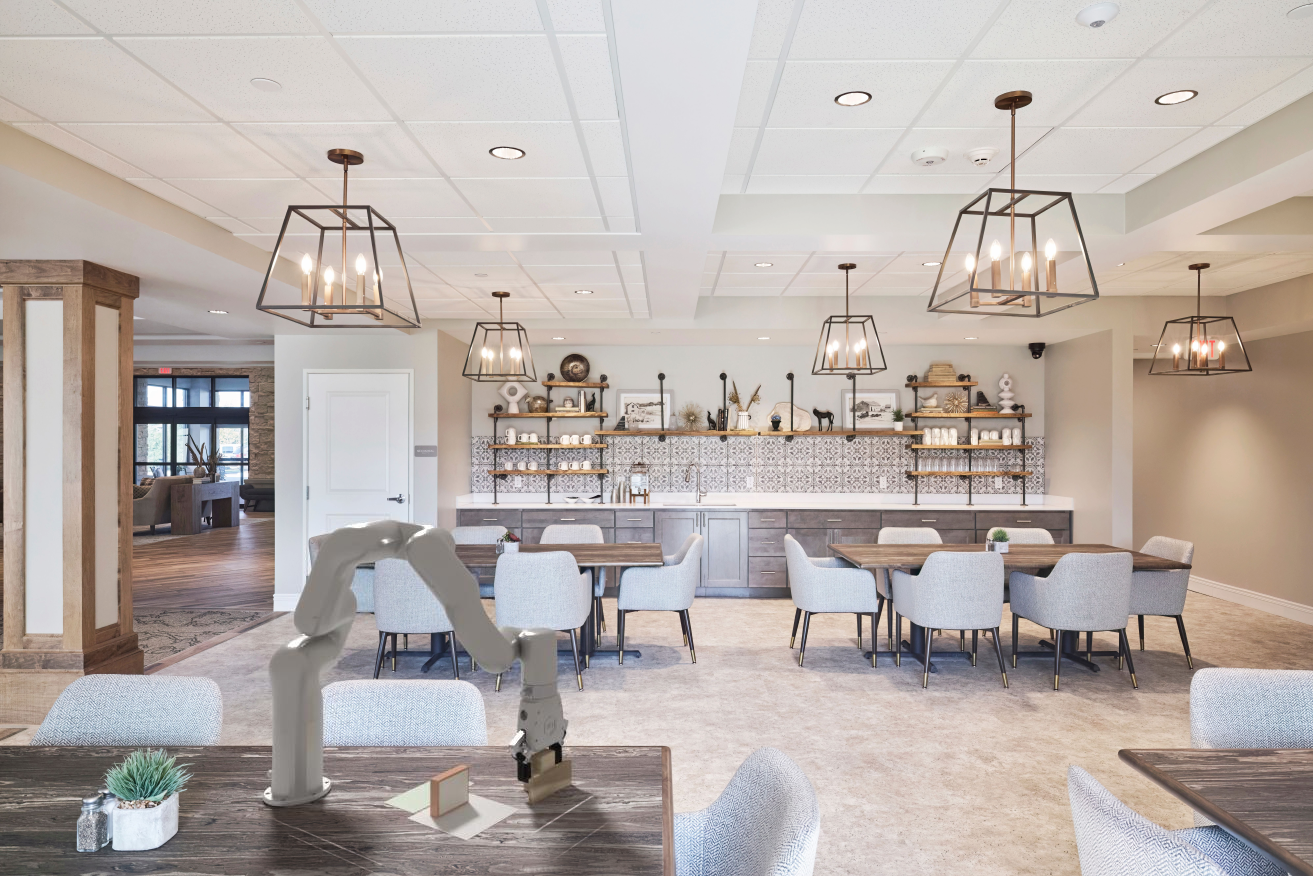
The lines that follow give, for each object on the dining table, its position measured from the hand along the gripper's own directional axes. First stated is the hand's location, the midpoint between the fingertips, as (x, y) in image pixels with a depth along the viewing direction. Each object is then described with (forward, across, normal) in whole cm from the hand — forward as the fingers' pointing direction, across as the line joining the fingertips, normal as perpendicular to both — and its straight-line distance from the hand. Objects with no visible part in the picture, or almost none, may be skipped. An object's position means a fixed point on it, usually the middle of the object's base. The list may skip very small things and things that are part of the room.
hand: (540, 772), depth 156 cm
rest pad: (+3, -13, +18) cm, 23 cm away
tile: (+3, -16, +9) cm, 19 cm away
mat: (+4, -16, +5) cm, 17 cm away
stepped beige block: (+4, 0, 0) cm, 4 cm away
